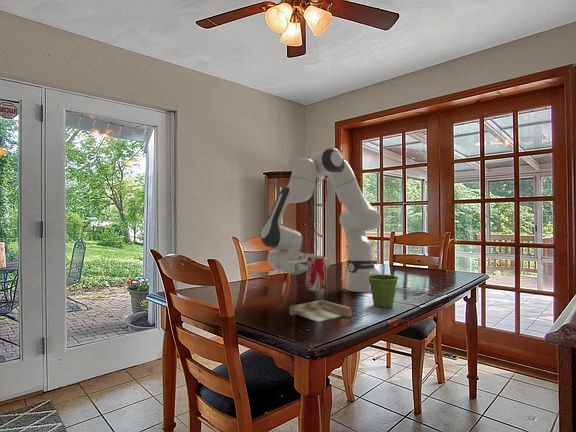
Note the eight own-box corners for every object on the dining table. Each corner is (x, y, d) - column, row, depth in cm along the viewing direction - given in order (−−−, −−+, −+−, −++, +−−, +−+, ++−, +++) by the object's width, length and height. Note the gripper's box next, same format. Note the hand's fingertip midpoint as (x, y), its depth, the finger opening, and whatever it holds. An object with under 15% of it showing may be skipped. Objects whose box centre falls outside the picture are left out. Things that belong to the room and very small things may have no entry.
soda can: (322, 292, 124) (324, 258, 124) (303, 290, 126) (304, 257, 125) (325, 288, 131) (327, 255, 130) (307, 286, 133) (308, 254, 132)
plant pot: (361, 305, 139) (360, 276, 139) (381, 300, 146) (380, 273, 146) (385, 311, 130) (385, 280, 130) (405, 306, 137) (405, 277, 137)
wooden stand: (322, 307, 136) (322, 299, 136) (351, 316, 124) (351, 307, 124) (289, 314, 127) (289, 306, 127) (317, 324, 115) (317, 315, 115)
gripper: (272, 256, 133) (294, 260, 122) (315, 253, 145) (338, 256, 133) (272, 273, 133) (294, 278, 121) (315, 268, 144) (338, 272, 133)
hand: (317, 266), depth 127 cm, fingers closed on soda can, 7 cm apart
